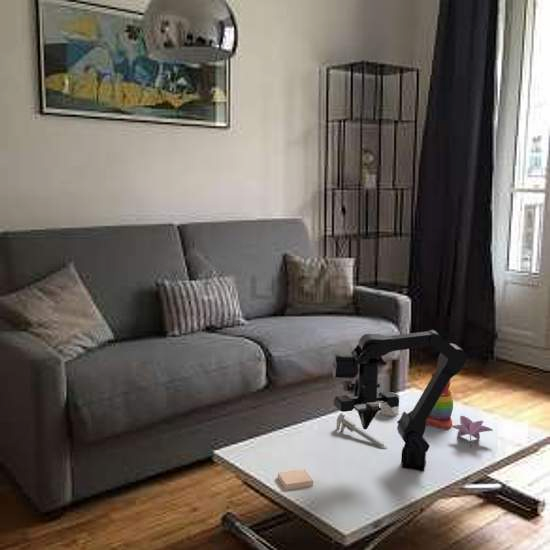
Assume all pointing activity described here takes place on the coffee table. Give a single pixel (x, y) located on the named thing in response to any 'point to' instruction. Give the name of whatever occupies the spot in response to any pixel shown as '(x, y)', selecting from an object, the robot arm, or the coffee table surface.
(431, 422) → the stacking bear
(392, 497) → the coffee table surface
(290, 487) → the tile
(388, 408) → the mug
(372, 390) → the robot arm
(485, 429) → the lily
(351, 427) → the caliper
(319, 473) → the coffee table surface
